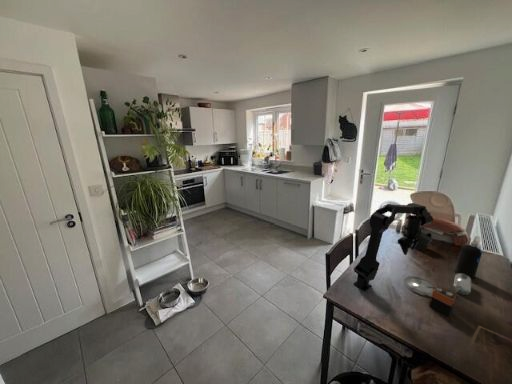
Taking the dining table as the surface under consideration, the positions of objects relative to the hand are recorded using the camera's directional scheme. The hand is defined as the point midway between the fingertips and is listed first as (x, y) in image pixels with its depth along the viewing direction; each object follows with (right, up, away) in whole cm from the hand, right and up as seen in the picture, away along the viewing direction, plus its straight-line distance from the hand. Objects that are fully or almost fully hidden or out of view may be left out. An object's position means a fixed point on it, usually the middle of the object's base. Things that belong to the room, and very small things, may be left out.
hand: (408, 252), depth 114 cm
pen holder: (+28, -5, +28) cm, 40 cm away
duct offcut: (+19, -16, -10) cm, 27 cm away
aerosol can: (+31, -13, 0) cm, 34 cm away
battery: (-2, -20, -22) cm, 30 cm away
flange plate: (0, -16, -8) cm, 18 cm away
